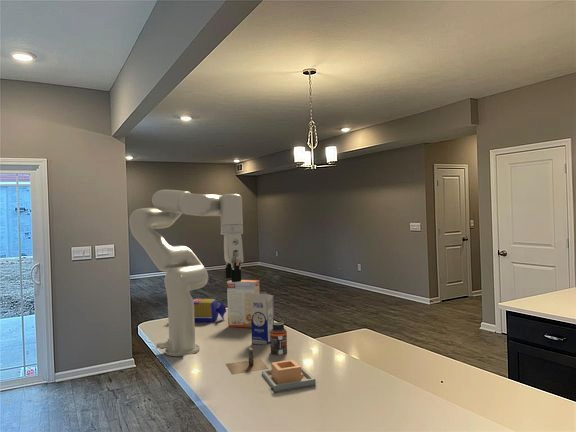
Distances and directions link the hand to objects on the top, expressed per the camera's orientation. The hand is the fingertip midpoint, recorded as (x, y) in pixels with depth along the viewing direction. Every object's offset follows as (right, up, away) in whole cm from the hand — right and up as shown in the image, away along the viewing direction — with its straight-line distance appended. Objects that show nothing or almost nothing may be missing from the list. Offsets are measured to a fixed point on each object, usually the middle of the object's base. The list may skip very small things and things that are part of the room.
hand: (233, 279), depth 142 cm
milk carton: (+9, -28, +22) cm, 37 cm away
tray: (+19, -28, -18) cm, 38 cm away
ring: (+18, -27, -18) cm, 38 cm away
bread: (-24, -30, +61) cm, 72 cm away
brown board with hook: (+5, -28, -7) cm, 29 cm away
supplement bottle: (+16, -28, +6) cm, 33 cm away
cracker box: (-1, -29, +48) cm, 56 cm away
